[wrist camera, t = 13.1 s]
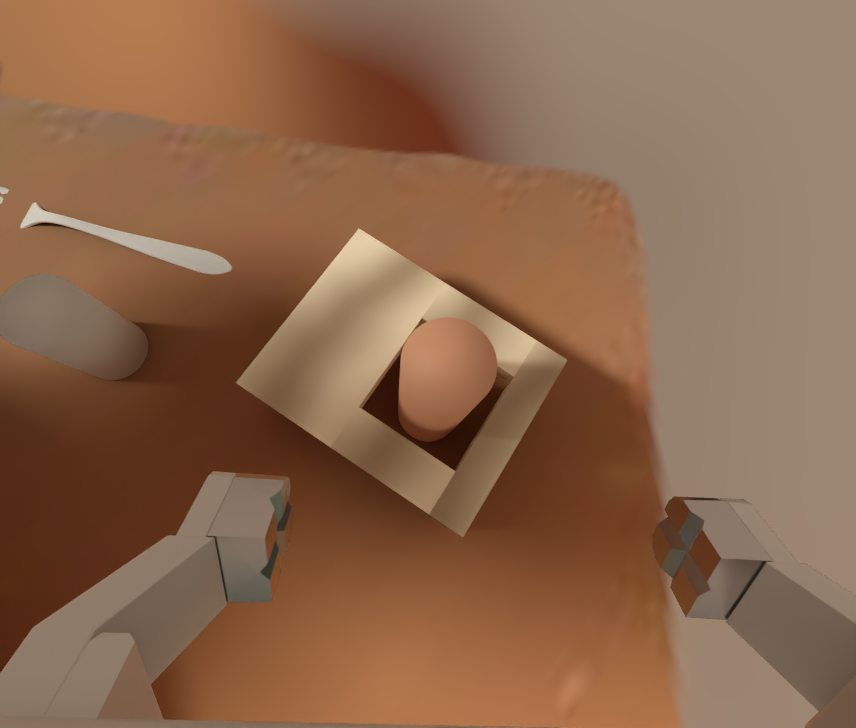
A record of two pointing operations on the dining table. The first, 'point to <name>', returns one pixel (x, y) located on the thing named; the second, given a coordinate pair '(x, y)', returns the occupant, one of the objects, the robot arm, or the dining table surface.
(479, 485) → the bridge
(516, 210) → the dining table surface
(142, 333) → the short dowel
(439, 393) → the long dowel
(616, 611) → the dining table surface
